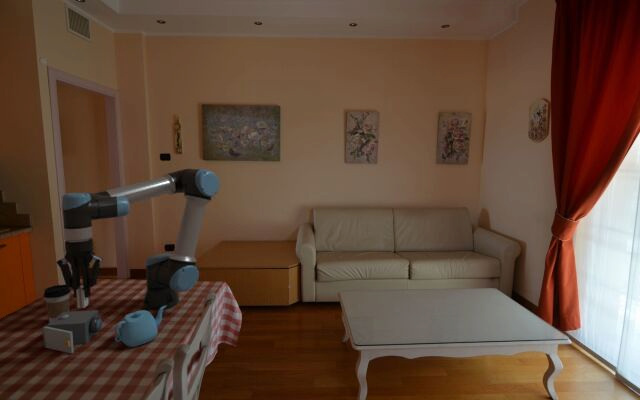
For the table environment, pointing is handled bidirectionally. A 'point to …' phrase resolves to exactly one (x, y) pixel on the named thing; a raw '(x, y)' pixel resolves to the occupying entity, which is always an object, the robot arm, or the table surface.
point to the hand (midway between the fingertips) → (83, 306)
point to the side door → (58, 339)
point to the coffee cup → (57, 300)
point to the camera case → (78, 324)
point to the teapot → (138, 327)
